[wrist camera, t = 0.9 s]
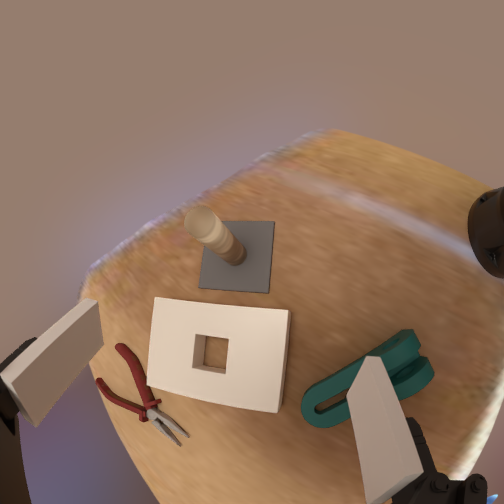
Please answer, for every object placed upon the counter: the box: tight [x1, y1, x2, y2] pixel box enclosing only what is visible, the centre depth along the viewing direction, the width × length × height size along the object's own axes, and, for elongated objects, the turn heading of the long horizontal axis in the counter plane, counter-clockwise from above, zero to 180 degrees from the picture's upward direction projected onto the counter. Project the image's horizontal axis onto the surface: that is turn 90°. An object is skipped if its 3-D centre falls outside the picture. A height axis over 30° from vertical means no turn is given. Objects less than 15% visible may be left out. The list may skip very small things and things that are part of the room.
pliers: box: [96, 343, 189, 447], centre depth 39 cm, size 12×20×3 cm, turn 54°
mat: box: [198, 221, 275, 293], centre depth 43 cm, size 11×11×1 cm
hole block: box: [147, 297, 291, 413], centre depth 38 cm, size 20×14×4 cm
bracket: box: [301, 329, 434, 428], centre depth 30 cm, size 18×7×8 cm, turn 118°
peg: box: [184, 206, 247, 266], centre depth 36 cm, size 4×4×14 cm
